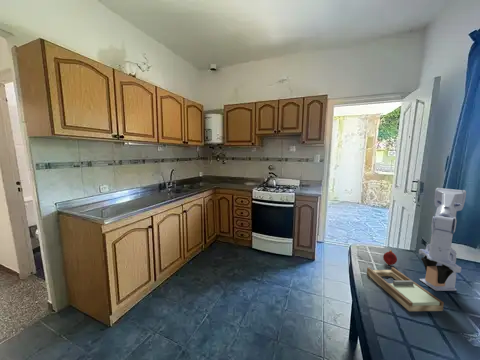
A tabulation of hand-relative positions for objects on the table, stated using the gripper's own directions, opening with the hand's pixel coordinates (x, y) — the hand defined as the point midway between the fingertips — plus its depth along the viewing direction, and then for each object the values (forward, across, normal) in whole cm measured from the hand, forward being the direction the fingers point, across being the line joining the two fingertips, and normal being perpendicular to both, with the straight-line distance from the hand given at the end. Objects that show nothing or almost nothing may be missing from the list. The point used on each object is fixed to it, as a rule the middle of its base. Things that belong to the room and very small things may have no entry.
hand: (435, 279), depth 83 cm
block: (+1, 0, 0) cm, 1 cm away
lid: (+6, 0, -9) cm, 11 cm away
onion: (+9, -26, +3) cm, 27 cm away
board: (+8, -6, -9) cm, 13 cm away
